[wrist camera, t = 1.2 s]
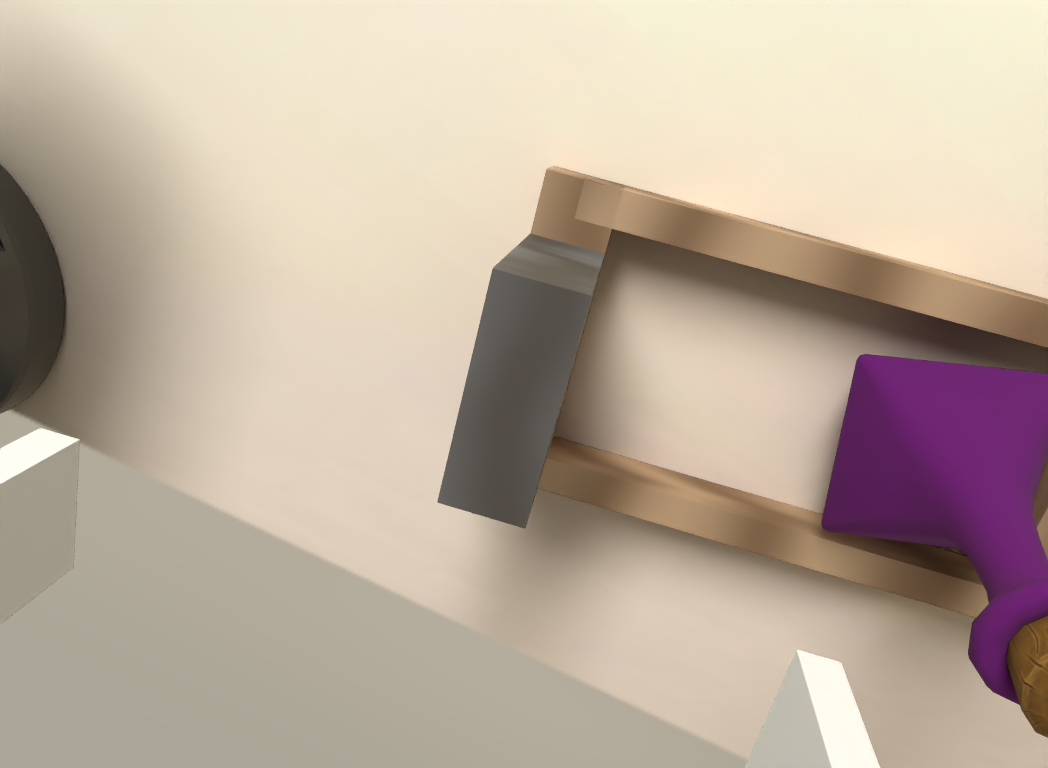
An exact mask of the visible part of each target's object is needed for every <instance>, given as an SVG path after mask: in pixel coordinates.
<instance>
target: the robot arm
mask: <svg viewBox="0 0 1048 768" xmlns="http://www.w3.org/2000/svg"><path fill="white" fill-rule="evenodd" d="M63 321H64V296H63V287H62V280H61V275H60V270H59V266H58V262H57V259H56V255H55V252H54V249H53V246H52V244H51V241H50V239H49V236H48V234H47V232H46V230H45V227H44V225H43V223H42V221H41V219H40V218H39V216H38V214H37V212H36V210H35V209H34V207H33V205H32V204H31V202H30V201H29V199H28V198H27V196H26V195H25V193H24V192H23V191H22V189H21V188H20V186H19V185H18V184H17V183H16V181H15V180H14V179H13V178H12V177H11V175H10V174H9V173H8V172H7V171H6V170H5V169H4V168H3V167H2V166H1V165H0V413H3V412H5V411H7V410H9V409H11V408H13V407H15V406H16V405H18V404H19V403H21V402H22V401H24V400H25V399H26V398H27V397H28V396H30V395H31V394H32V393H33V392H34V391H35V390H36V389H37V387H38V386H39V385H40V384H41V383H42V381H43V380H44V378H45V377H46V375H47V374H48V372H49V370H50V368H51V366H52V364H53V362H54V360H55V357H56V354H57V351H58V348H59V345H60V341H61V336H62V330H63ZM79 445H80V439H76V438H73V437H69V436H66V435H63V434H59V433H56V432H52V431H49V430H45V429H42V428H39V429H37V430H35V431H33V432H31V433H29V434H27V435H25V436H23V437H21V438H19V439H17V440H16V441H13V442H12V443H9V444H7V445H5V446H3V447H2V448H0V624H1V623H3V622H4V621H5V620H6V619H8V618H9V617H10V616H12V615H13V614H14V613H16V612H17V611H18V610H19V609H21V608H22V607H23V606H24V605H26V604H27V603H28V602H30V601H31V600H32V599H33V598H35V597H36V596H37V595H39V594H40V593H41V592H42V591H44V590H45V589H46V588H48V587H49V586H50V585H51V584H53V583H54V582H55V581H57V580H58V579H59V578H60V577H62V576H63V575H64V574H66V573H67V572H68V571H69V570H71V569H72V568H73V567H74V547H75V527H76V506H77V486H78V466H79ZM745 768H880V766H879V764H878V761H877V758H876V756H875V753H874V750H873V748H872V745H871V742H870V739H869V737H868V734H867V731H866V729H865V726H864V723H863V721H862V718H861V715H860V712H859V710H858V707H857V704H856V702H855V699H854V696H853V694H852V691H851V688H850V685H849V683H848V680H847V677H846V675H845V672H844V669H843V667H842V664H841V662H838V661H835V660H831V659H828V658H825V657H821V656H818V655H814V654H811V653H807V652H804V651H801V650H796V652H795V654H794V657H793V659H792V661H791V663H790V666H789V668H788V670H787V672H786V675H785V677H784V679H783V681H782V684H781V686H780V688H779V691H778V693H777V695H776V697H775V700H774V702H773V704H772V706H771V709H770V711H769V713H768V715H767V718H766V720H765V722H764V724H763V727H762V729H761V731H760V734H759V736H758V738H757V740H756V743H755V745H754V747H753V749H752V752H751V754H750V756H749V758H748V761H747V763H746V765H745Z"/></svg>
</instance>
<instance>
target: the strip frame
mask: <svg viewBox="0 0 1048 768" xmlns="http://www.w3.org/2000/svg"><path fill="white" fill-rule="evenodd" d="M612 229H615V230H618V231H622V232H626V233H629V234H633V235H637V236H640V237H644V238H648V239H651V240H655V241H659V242H662V243H666V244H670V245H673V246H677V247H681V248H684V249H688V250H692V251H695V252H699V253H703V254H706V255H710V256H714V257H717V258H721V259H725V260H728V261H732V262H736V263H739V264H743V265H747V266H750V267H754V268H758V269H761V270H765V271H769V272H772V273H776V274H780V275H783V276H787V277H791V278H794V279H798V280H802V281H805V282H809V283H813V284H816V285H820V286H824V287H827V288H831V289H835V290H838V291H842V292H846V293H849V294H853V295H857V296H860V297H864V298H868V299H871V300H875V301H878V302H882V303H886V304H889V305H893V306H897V307H900V308H904V309H908V310H911V311H915V312H919V313H922V314H926V315H930V316H933V317H937V318H941V319H944V320H948V321H952V322H955V323H959V324H963V325H966V326H970V327H974V328H977V329H981V330H985V331H988V332H992V333H996V334H999V335H1003V336H1007V337H1010V338H1014V339H1018V340H1021V341H1025V342H1029V343H1032V344H1036V345H1040V346H1043V347H1047V348H1048V299H1045V298H1042V297H1038V296H1034V295H1031V294H1027V293H1023V292H1019V291H1016V290H1012V289H1008V288H1005V287H1001V286H997V285H993V284H990V283H986V282H982V281H979V280H975V279H971V278H967V277H964V276H960V275H956V274H953V273H949V272H945V271H941V270H938V269H934V268H930V267H927V266H923V265H919V264H915V263H912V262H908V261H904V260H901V259H897V258H893V257H889V256H886V255H882V254H878V253H875V252H871V251H867V250H863V249H860V248H856V247H852V246H849V245H845V244H841V243H837V242H834V241H830V240H826V239H823V238H819V237H815V236H811V235H808V234H804V233H800V232H797V231H793V230H789V229H785V228H782V227H778V226H774V225H771V224H767V223H763V222H759V221H756V220H752V219H748V218H745V217H741V216H737V215H733V214H730V213H726V212H722V211H719V210H715V209H711V208H707V207H704V206H700V205H696V204H693V203H689V202H685V201H681V200H678V199H674V198H670V197H667V196H663V195H659V194H655V193H652V192H648V191H644V190H641V189H637V188H633V187H629V186H626V185H622V184H618V183H615V182H611V181H607V180H603V179H600V178H596V177H592V176H589V175H585V174H581V173H578V172H574V171H570V170H566V169H563V168H559V167H555V166H553V167H551V168H548V169H547V170H546V174H545V178H544V182H543V186H542V190H541V194H540V198H539V202H538V206H537V210H536V214H535V218H534V222H533V226H532V230H531V234H530V235H528V236H527V237H526V238H525V239H524V240H523V241H522V242H521V243H520V244H519V245H518V246H516V247H515V248H514V249H513V250H512V251H511V252H510V253H509V254H508V255H507V256H506V257H505V258H503V259H502V260H501V261H500V262H499V263H498V264H497V265H496V266H495V267H494V268H493V270H492V274H491V278H490V282H489V286H488V291H487V295H486V299H485V303H484V308H483V312H482V316H481V320H480V324H479V329H478V333H477V337H476V341H475V346H474V350H473V354H472V358H471V362H470V367H469V371H468V375H467V379H466V384H465V388H464V392H463V396H462V401H461V405H460V409H459V413H458V417H457V422H456V426H455V430H454V434H453V439H452V443H451V447H450V451H449V455H448V460H447V464H446V468H445V472H444V477H443V481H442V485H441V489H440V493H439V498H438V503H441V504H445V505H448V506H451V507H455V508H458V509H461V510H465V511H468V512H471V513H475V514H478V515H481V516H485V517H488V518H491V519H495V520H498V521H501V522H505V523H508V524H512V525H515V526H518V527H522V528H525V527H526V524H527V521H528V517H529V514H530V511H531V507H532V504H533V501H534V497H535V494H536V491H537V488H538V489H541V490H545V491H548V492H552V493H555V494H558V495H562V496H565V497H569V498H572V499H575V500H579V501H582V502H586V503H589V504H592V505H596V506H599V507H603V508H606V509H609V510H613V511H616V512H619V513H623V514H626V515H630V516H633V517H636V518H640V519H643V520H647V521H650V522H653V523H657V524H660V525H664V526H667V527H670V528H674V529H677V530H680V531H684V532H687V533H691V534H694V535H697V536H701V537H704V538H708V539H711V540H714V541H718V542H721V543H725V544H728V545H731V546H735V547H738V548H741V549H745V550H748V551H752V552H755V553H758V554H762V555H765V556H769V557H772V558H775V559H779V560H782V561H786V562H789V563H792V564H796V565H799V566H802V567H806V568H809V569H813V570H816V571H819V572H823V573H826V574H830V575H833V576H836V577H840V578H843V579H847V580H850V581H853V582H857V583H860V584H863V585H867V586H870V587H874V588H877V589H880V590H884V591H887V592H891V593H894V594H897V595H901V596H904V597H908V598H911V599H914V600H918V601H921V602H924V603H928V604H931V605H935V606H938V607H941V608H945V609H948V610H952V611H955V612H958V613H962V614H965V615H969V616H972V617H975V618H977V616H978V615H979V614H980V613H981V612H982V611H983V610H984V609H985V607H986V606H987V605H988V604H989V602H988V597H987V592H986V590H985V588H984V586H983V584H982V582H981V580H980V578H979V576H978V574H977V572H976V570H975V568H974V566H973V564H972V562H971V561H970V559H969V557H967V556H964V555H960V554H957V553H953V552H950V551H946V550H943V549H940V548H936V547H933V546H929V545H925V544H918V543H910V542H902V541H895V540H887V539H879V538H872V537H864V536H856V535H849V534H841V533H833V532H829V531H827V530H825V529H823V528H822V524H821V522H822V517H823V514H819V513H816V512H812V511H809V510H805V509H802V508H798V507H795V506H792V505H788V504H785V503H781V502H778V501H774V500H771V499H767V498H764V497H761V496H757V495H754V494H750V493H747V492H743V491H740V490H737V489H733V488H730V487H726V486H723V485H719V484H716V483H712V482H709V481H706V480H702V479H699V478H695V477H692V476H688V475H685V474H681V473H678V472H675V471H671V470H668V469H664V468H661V467H657V466H654V465H650V464H647V463H644V462H640V461H637V460H633V459H630V458H626V457H623V456H619V455H616V454H613V453H609V452H606V451H602V450H599V449H595V448H592V447H589V446H585V445H582V444H578V443H575V442H571V441H568V440H564V439H561V438H558V437H554V436H553V435H554V432H555V428H556V425H557V421H558V418H559V414H560V411H561V407H562V404H563V400H564V397H565V393H566V390H567V386H568V383H569V379H570V376H571V372H572V369H573V365H574V362H575V358H576V355H577V351H578V348H579V344H580V341H581V337H582V334H583V330H584V327H585V323H586V320H587V316H588V313H589V309H590V306H591V302H592V299H593V295H594V292H595V288H596V285H597V281H598V278H599V274H600V271H601V267H602V264H603V260H604V257H605V253H606V250H607V246H608V243H609V239H610V236H611V232H612ZM1033 516H1034V520H1035V523H1036V527H1037V530H1038V534H1039V537H1040V540H1041V543H1042V546H1043V548H1044V551H1045V554H1046V556H1047V559H1048V456H1047V459H1046V463H1045V466H1044V469H1043V472H1042V475H1041V479H1040V482H1039V485H1038V488H1037V492H1036V495H1035V498H1034V501H1033Z"/></svg>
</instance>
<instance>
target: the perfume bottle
mask: <svg viewBox="0 0 1048 768" xmlns="http://www.w3.org/2000/svg"><path fill="white" fill-rule="evenodd" d="M1047 456H1048V373H1040V372H1030V371H1021V370H1011V369H1002V368H992V367H983V366H973V365H964V364H954V363H945V362H935V361H926V360H916V359H907V358H898V357H888V356H879V355H869V354H864V355H860V356H859V357H858V359H857V361H856V365H855V370H854V375H853V379H852V384H851V388H850V393H849V398H848V402H847V407H846V411H845V416H844V421H843V425H842V430H841V434H840V439H839V444H838V448H837V453H836V457H835V462H834V467H833V471H832V476H831V480H830V485H829V490H828V494H827V499H826V503H825V508H824V513H823V517H822V522H821V524H822V528H823V529H825V530H827V531H829V532H833V533H841V534H849V535H856V536H864V537H872V538H879V539H887V540H895V541H902V542H910V543H918V544H925V545H933V546H941V547H948V548H956V549H961V550H962V551H963V552H964V553H965V554H966V555H967V556H968V557H969V559H970V561H971V562H972V564H973V566H974V568H975V570H976V572H977V574H978V576H979V578H980V580H981V582H982V584H983V586H984V588H985V590H986V592H987V597H988V602H989V604H988V605H987V606H986V607H985V609H984V610H983V611H982V612H981V613H980V614H979V615H978V616H977V618H976V619H975V620H974V621H973V622H972V627H971V634H970V642H969V649H968V655H969V659H970V661H971V662H972V664H973V665H974V667H975V668H976V670H977V671H978V673H979V675H980V676H981V678H982V679H983V681H984V682H985V684H986V686H987V687H989V688H990V689H991V690H992V691H993V692H994V693H996V694H998V695H1000V696H1002V697H1004V698H1006V699H1008V700H1011V701H1013V702H1015V703H1017V704H1019V705H1020V707H1021V710H1022V711H1023V713H1024V715H1025V716H1026V718H1027V719H1028V721H1029V722H1030V724H1031V726H1032V727H1033V729H1034V730H1035V732H1037V733H1039V734H1041V735H1043V736H1045V737H1048V559H1047V556H1046V554H1045V551H1044V548H1043V546H1042V543H1041V540H1040V537H1039V534H1038V530H1037V527H1036V523H1035V520H1034V516H1033V501H1034V498H1035V495H1036V492H1037V488H1038V485H1039V482H1040V479H1041V475H1042V472H1043V469H1044V466H1045V463H1046V459H1047Z"/></svg>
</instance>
